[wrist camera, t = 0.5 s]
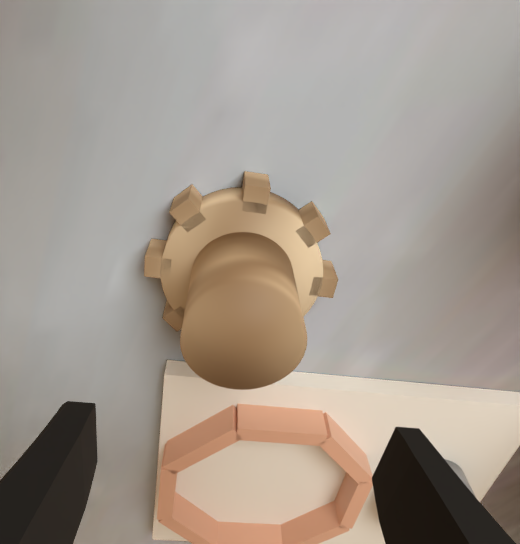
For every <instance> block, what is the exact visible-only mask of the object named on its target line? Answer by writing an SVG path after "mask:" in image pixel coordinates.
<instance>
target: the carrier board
mask: <svg viewBox="0 0 520 544" xmlns="http://www.w3.org/2000/svg"><path fill="white" fill-rule="evenodd" d="M395 427H407V428H419V429H420V430H421V431H422V433H423V434H424V435H425V436H426V437H427V439H428V440H429V441H430V442H431V443H432V445H433V446H434V447H435V448H436V450H437V451H438V452H439V453H440V455H441V456H442V457H443V458H444V459H445V461H446V462H447V463H448V464H449V466H450V467H451V468H452V469H453V471H454V472H455V473H456V474H457V475H458V477H459V478H460V479H461V480H462V482H463V483H464V484H465V485H466V486H467V488H468V489H469V490H470V491H471V493H472V494H473V495H474V496H475V497H476V499H477V500H478V501H479V502H480V501H481V500H482V498H483V497H484V496H485V494H486V493H487V491H488V490H489V488H490V487H491V486H492V484H493V483H494V481H495V480H496V478H497V477H498V476H499V474H500V473H501V471H502V470H503V468H504V467H505V466H506V464H507V463H508V461H509V460H510V458H511V457H512V456H513V454H514V453H515V451H516V450H517V448H518V447H519V446H520V392H512V391H501V390H491V389H480V388H469V387H458V386H447V385H436V384H425V383H414V382H403V381H392V380H381V379H370V378H359V377H348V376H338V375H327V374H316V373H305V372H294V371H292V372H291V373H290V374H288V375H287V376H286V377H284V378H283V379H281V380H280V381H278V382H275V383H273V384H271V385H268V386H265V387H261V388H256V389H248V390H236V389H228V388H224V387H220V386H217V385H214V384H212V383H210V382H207V381H206V380H204V379H202V378H201V377H199V376H198V375H197V374H196V373H195V372H194V371H193V370H192V369H191V368H190V367H189V366H188V364H187V363H186V362H185V361H174V360H167V364H166V369H165V374H164V385H163V399H162V413H161V426H160V440H159V453H158V467H157V481H156V494H155V508H154V521H153V535H152V540H173V541H189V542H191V543H192V544H385V540H384V537H383V533H382V530H381V526H380V523H379V518H378V512H377V507H376V502H375V496H374V489H373V483H372V476H373V474H374V472H375V470H376V468H377V466H378V464H379V461H380V459H381V457H382V455H383V453H384V451H385V449H386V446H387V444H388V442H389V440H390V438H391V436H392V434H393V432H394V429H395Z"/></svg>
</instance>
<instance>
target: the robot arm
mask: <svg viewBox="0 0 520 544" xmlns="http://www.w3.org/2000/svg"><path fill="white" fill-rule="evenodd" d="M96 465H97V437H96V408H95V403H83V402H70V401H67V402H66V403H64V404H63V405H62V406H61V407H60V409H59V410H58V411H57V413H56V414H55V415H54V417H53V418H52V419H51V421H50V422H49V423H48V425H47V426H46V427H45V428H44V430H43V431H42V432H41V433H40V435H39V436H38V437H37V438H36V440H35V441H34V442H33V443H32V444H31V446H30V447H29V448H28V449H27V450H26V452H25V453H24V454H23V455H22V456H21V458H20V459H19V460H18V461H17V462H16V463H15V464H14V466H13V467H12V468H11V469H10V470H9V471H8V472H7V473H6V475H5V476H4V477H3V478H2V479H1V480H0V544H73V541H74V539H75V536H76V533H77V530H78V528H79V525H80V522H81V519H82V516H83V514H84V511H85V508H86V504H87V500H88V496H89V493H90V489H91V485H92V481H93V477H94V473H95V469H96ZM372 483H373V489H374V496H375V502H376V507H377V512H378V518H379V523H380V526H381V530H382V533H383V537H384V540H385V544H516V543H515V542H514V541H513V540H512V539H511V538H510V537H509V536H508V534H507V533H506V532H505V531H504V530H503V529H502V528H501V526H500V525H499V524H498V523H497V522H496V521H495V520H494V518H493V517H492V516H491V515H490V514H489V513H488V511H487V510H486V509H485V508H484V507H483V506H482V504H481V503H480V502H479V501H478V500H477V499H476V497H475V496H474V495H473V494H472V493H471V491H470V490H469V489H468V488H467V486H466V485H465V484H464V483H463V482H462V480H461V479H460V478H459V477H458V475H457V474H456V473H455V472H454V471H453V469H452V468H451V467H450V466H449V464H448V463H447V462H446V461H445V459H444V458H443V457H442V456H441V455H440V453H439V452H438V451H437V450H436V448H435V447H434V446H433V445H432V443H431V442H430V441H429V440H428V439H427V437H426V436H425V435H424V434H423V433H422V431H421V430H420V429H419V428H407V427H395V429H394V432H393V434H392V436H391V438H390V440H389V442H388V444H387V446H386V449H385V451H384V453H383V455H382V457H381V459H380V461H379V464H378V466H377V468H376V470H375V472H374V474H373V476H372Z"/></svg>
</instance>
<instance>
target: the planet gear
mask: <svg viewBox="0 0 520 544" xmlns="http://www.w3.org/2000/svg"><path fill="white" fill-rule="evenodd" d="M270 189H271V188H270V182H269V177H268V175H266V174H260V173H253V172H246V171H245V172H244V179H243V186H242V187H235V188H227V189H222V190H218V191H215V192H212V193H210V194H207V195H205V196H202V195H201V194H200V193H199V192H198V191H197V189H196V188H195V187H194V186H193V185H190V186H189V187H188V188H186V189H185V190H184V191H182V192H181V193H180V194H178V195H177V196H176V197H174V200H173V203H172V206H171V209H170V212H169V213H170V214H171V215H172V216H173V217H174V218H175V220H176V221H175V223H174V224H173V227H172V229H171V231H170V233H169V236H168V240H167V241H166V240H158V239H151V241H150V244H149V247H148V249H147V252H146V255H145V266H144V276H145V277H154V278H161V283H162V288H163V291H164V294H165V296H166V298H167V301H166V305H165V309H164V313H163V317H162V318H163V319H164V320H165V321H166V322H167V323H168V324H169V325H170V326H171V327H172V328H174V329H175V330H176V331H179V330H180V329H182V330H181V336H180V347H181V352H182V355H183V357H184V359H185V361H186V363H187V364H188V366H189V367H190V368H191V369H192V370H193V371H194V372H195V373H196V374H197V375H198V376H199V377H201V378H202V379H204V380H206V381H207V382H210V383H212V384H214V385H217V386H220V387H224V388H228V389H236V390H248V389H256V388H261V387H265V386H268V385H271V384H273V383H275V382H278V381H280V380H281V379H283V378H284V377H286V376H287V375H288V374H290V373H291V372H292V371H293V370H294V369H295V368H296V367H297V366H298V364H299V363H300V361H301V360H302V358H303V356H304V353H305V350H306V346H307V333H306V327H305V323H304V318H303V317H304V315H305V314H306V313H307V312H308V311H309V310H310V308H311V307H312V305H313V304H314V302H315V300H316V299H317V297H318V296H320V297H329V298H333V295H334V292H335V289H336V285H337V282H338V278H337V275H336V272H335V270H334V267H333V264H332V262H331V261H326V260H322V257H321V253H320V250H319V247H318V244H317V242H319V241H320V240H322V239H323V238H325V237H327V236H328V235H330V231H329V229H328V227H327V224H326V222H325V220H324V218H323V216H322V215H321V213H320V212H319V210H318V209H317V208H316V206H315V205H314V203H313V202H312V201H311V202H310V203H308V204H307V205H305V206H304V207H302V208H301V209H299V210H298V209H297V208H296V207H295V206H294V205H293V204H291V203H290V202H288V201H287V200H286V199H284V198H282V197H280V196H278V195H276V194H274V193H271V192H270Z"/></svg>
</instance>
